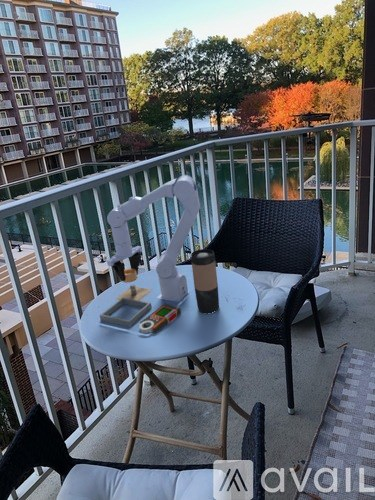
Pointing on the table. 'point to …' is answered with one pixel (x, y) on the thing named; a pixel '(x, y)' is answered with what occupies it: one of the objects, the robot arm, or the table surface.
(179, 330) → the table surface
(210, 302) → the travel mug
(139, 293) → the tan square plate
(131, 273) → the ring
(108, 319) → the tray
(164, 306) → the electronic device
